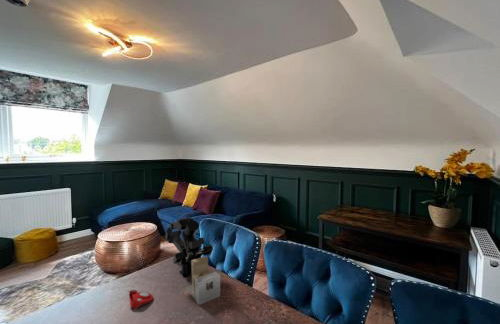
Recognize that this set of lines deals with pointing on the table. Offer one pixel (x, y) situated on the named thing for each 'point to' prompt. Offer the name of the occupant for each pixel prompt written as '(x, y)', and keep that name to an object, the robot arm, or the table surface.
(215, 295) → the bearing block
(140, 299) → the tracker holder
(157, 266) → the table surface
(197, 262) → the shaft carriage
